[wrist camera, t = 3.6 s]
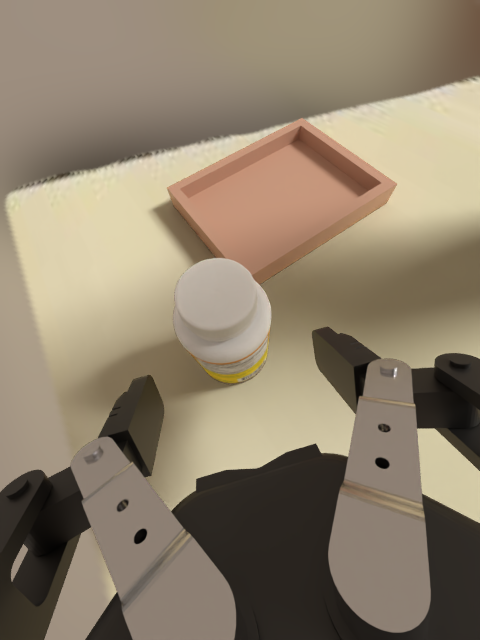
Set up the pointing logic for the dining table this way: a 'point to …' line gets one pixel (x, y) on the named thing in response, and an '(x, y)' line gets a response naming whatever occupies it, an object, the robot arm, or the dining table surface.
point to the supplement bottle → (223, 319)
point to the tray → (279, 198)
